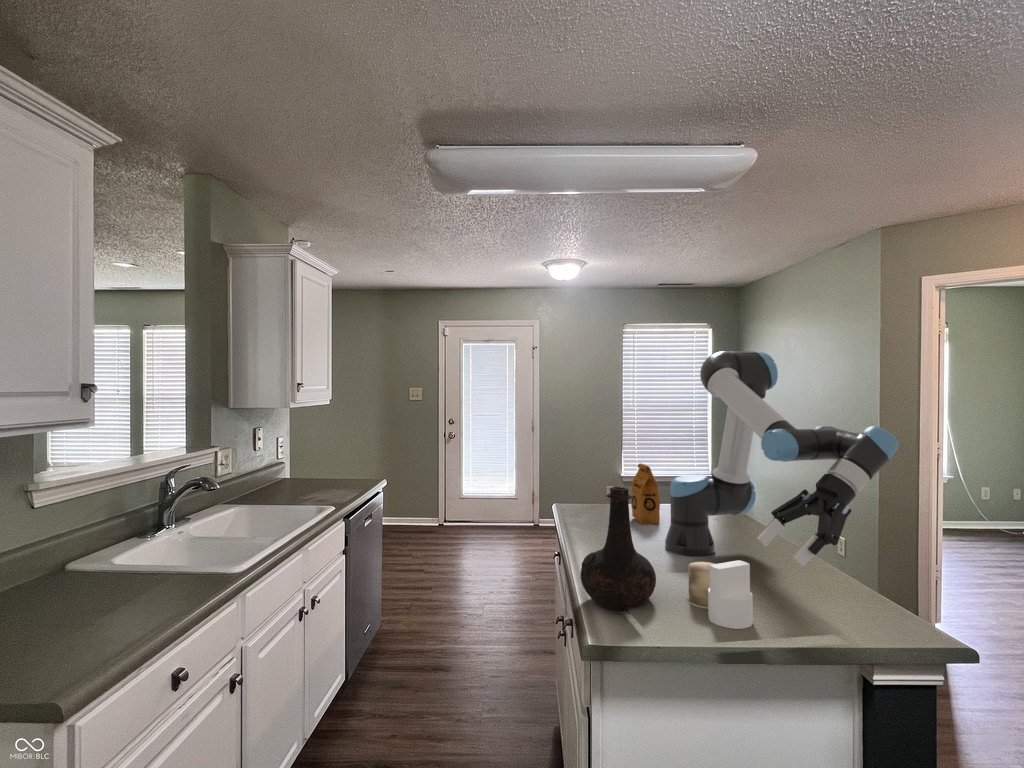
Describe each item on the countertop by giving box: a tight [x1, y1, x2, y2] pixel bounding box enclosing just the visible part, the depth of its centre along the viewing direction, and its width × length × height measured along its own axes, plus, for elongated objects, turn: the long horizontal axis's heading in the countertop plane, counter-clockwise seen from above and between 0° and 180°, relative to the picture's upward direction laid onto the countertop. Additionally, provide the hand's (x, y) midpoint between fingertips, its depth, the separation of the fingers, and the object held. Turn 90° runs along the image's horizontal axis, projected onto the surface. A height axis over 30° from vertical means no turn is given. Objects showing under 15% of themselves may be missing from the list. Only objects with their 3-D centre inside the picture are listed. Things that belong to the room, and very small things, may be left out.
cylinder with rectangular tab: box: [707, 559, 754, 630], centre depth 119 cm, size 9×9×12 cm
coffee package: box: [630, 462, 661, 525], centre depth 214 cm, size 10×12×22 cm
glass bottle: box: [580, 486, 657, 611], centre depth 133 cm, size 18×18×28 cm
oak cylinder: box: [688, 561, 715, 608], centre depth 130 cm, size 8×8×8 cm
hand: (778, 551), depth 123 cm, fingers open, 13 cm apart
